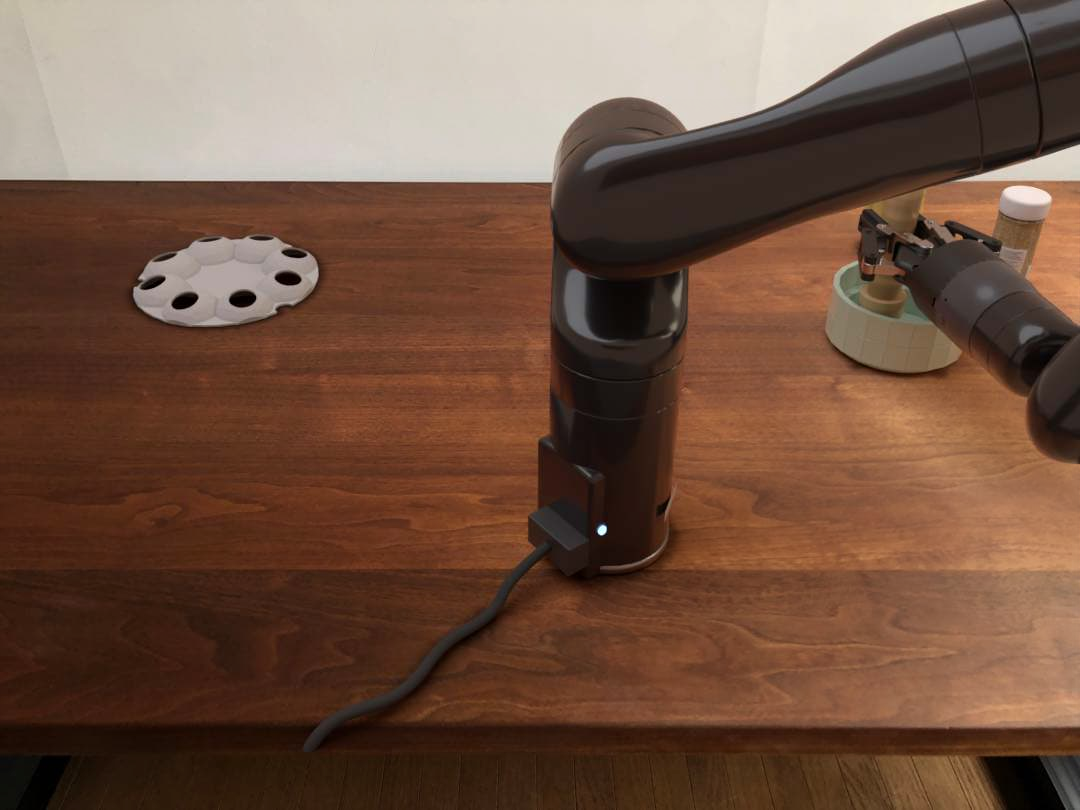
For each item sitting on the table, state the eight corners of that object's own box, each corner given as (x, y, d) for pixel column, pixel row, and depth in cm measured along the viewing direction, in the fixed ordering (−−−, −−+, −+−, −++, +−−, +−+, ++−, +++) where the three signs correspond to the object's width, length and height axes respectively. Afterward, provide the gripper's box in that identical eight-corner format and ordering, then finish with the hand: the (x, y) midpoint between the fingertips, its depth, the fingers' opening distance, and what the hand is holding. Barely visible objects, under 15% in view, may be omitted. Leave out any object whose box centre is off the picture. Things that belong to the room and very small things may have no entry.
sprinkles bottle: (1025, 317, 109) (1063, 196, 101) (997, 329, 107) (1033, 207, 99) (988, 298, 112) (1022, 180, 105) (960, 310, 110) (992, 190, 102)
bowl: (906, 394, 98) (920, 339, 94) (796, 335, 106) (805, 282, 103) (988, 348, 104) (1004, 295, 101) (878, 296, 113) (889, 245, 109)
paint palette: (259, 341, 105) (256, 323, 103) (94, 308, 110) (89, 291, 109) (350, 255, 120) (348, 239, 119) (201, 230, 125) (198, 214, 124)
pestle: (884, 326, 102) (918, 169, 93) (847, 308, 105) (877, 154, 96) (911, 312, 104) (948, 158, 95) (875, 295, 107) (907, 143, 98)
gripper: (1067, 254, 87) (957, 173, 101) (911, 270, 85) (820, 185, 98) (1042, 332, 91) (940, 244, 105) (892, 349, 89) (808, 257, 103)
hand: (882, 216), depth 102 cm, fingers closed on pestle, 3 cm apart
